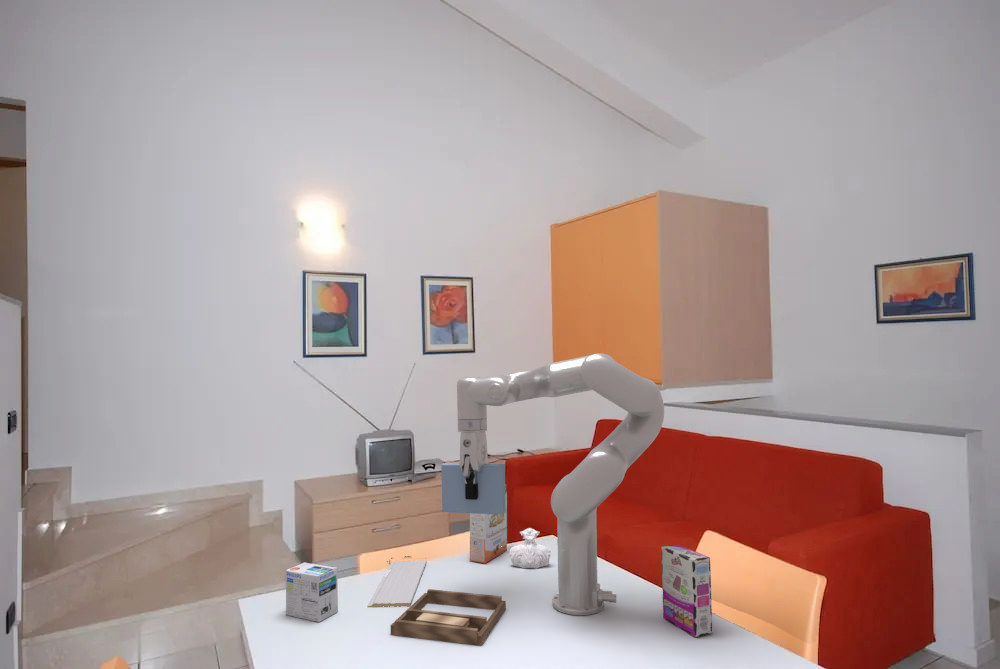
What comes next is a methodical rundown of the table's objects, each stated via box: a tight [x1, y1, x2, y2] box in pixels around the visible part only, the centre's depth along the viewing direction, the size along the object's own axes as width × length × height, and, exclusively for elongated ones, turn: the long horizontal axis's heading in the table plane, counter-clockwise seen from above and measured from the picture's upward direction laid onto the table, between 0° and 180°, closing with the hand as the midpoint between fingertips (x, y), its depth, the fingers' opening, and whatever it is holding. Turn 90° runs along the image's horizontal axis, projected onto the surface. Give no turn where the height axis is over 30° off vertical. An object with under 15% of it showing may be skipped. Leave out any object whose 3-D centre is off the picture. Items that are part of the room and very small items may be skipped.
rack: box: [389, 588, 507, 646], centre depth 138 cm, size 21×19×3 cm
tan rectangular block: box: [416, 613, 469, 627], centre depth 133 cm, size 12×4×3 cm, turn 71°
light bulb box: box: [285, 562, 339, 623], centre depth 144 cm, size 11×7×11 cm, turn 65°
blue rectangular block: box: [440, 462, 506, 515], centre depth 154 cm, size 16×3×12 cm, turn 76°
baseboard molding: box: [367, 555, 428, 608], centre depth 163 cm, size 31×3×12 cm
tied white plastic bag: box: [508, 527, 551, 569], centre depth 176 cm, size 12×8×11 cm
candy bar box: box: [660, 544, 713, 638], centre depth 134 cm, size 11×5×16 cm, turn 23°
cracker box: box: [469, 484, 508, 564], centre depth 184 cm, size 14×6×21 cm, turn 152°
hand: (473, 496), depth 153 cm, fingers closed on blue rectangular block, 3 cm apart
